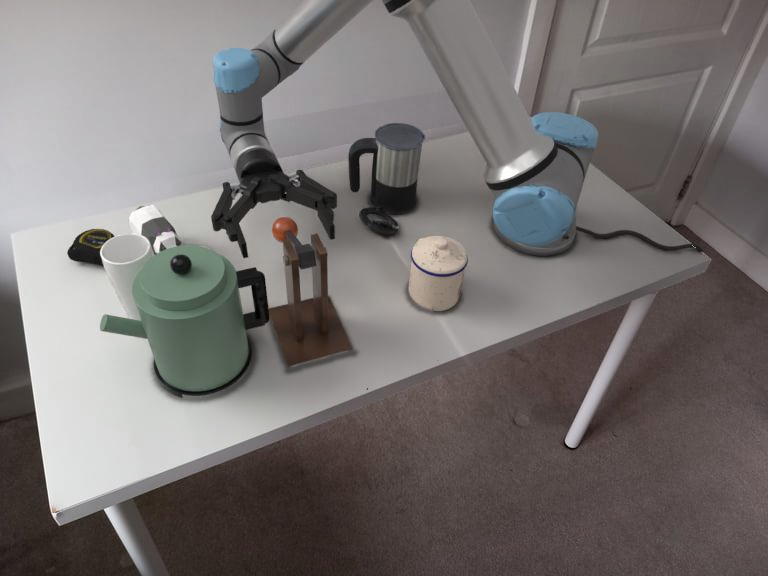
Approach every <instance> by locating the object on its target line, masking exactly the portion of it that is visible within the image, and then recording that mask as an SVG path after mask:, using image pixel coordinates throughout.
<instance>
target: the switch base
mask: <svg viewBox="0 0 768 576" xmlns="http://www.w3.org/2000/svg"><path fill="white" fill-rule="evenodd" d="M320 237H321V236H320V235H319V233H318V232H316V233H311V234H310V245H311V247H312V248H313V249H314V250H315V258H316V265H317V266H315V267H311V273H312V274H311V275H312V277H311V278H312V295H313V296H312V297H311V298H306V299H303V300H302V294H301V280H300V279H301V278H300V267H299V260H298V257H297V255H296V253H295V250H294V248H293V246H292V244H291V241H290V239H287V240H283V243H282V251H283V256H282V262H283V265H284V275H285V276H284V277H285V286H286V288H285V289H286V300H287V303H286V304H282V305H278V306H273V307H270V308H269V316H270V321H271V323H272V327H273V329H274V332H275V335H276V338H277V341H278V343H279V346H280V349H281V352H282V355H283V357H284V359H285V363H286V365H287V367H292V366H296V365H299V364H303V363H307V362H311V361H314V360H318V359H321V358H325V357H328V356H329V357H330V356H333V355H336V354H339V353H343V352H346V351H347V352H348V351H351V350H353V346H352V344H351V342H350V340H349V337H348V336H347V333H346V331H345V329H344V327H343V325H342V323H341V320H340V318H339V316H338V314H337V312H336V309H335V307H334V305H333V303H332V302H331V300H330V297H329V280H328V277H329V276H328V271H329V270H328V254H329V253H328V250H327V247H325V245H324V243H323V242H322V240H321V238H320Z"/></svg>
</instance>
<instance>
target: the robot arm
mask: <svg viewBox="0 0 768 576" xmlns="http://www.w3.org/2000/svg"><path fill="white" fill-rule="evenodd" d="M373 1H374V0H302V1H301V2H300V3H299V4H298V5H297V6H296V7H295V8H294V9H293V10H292V11H291V12H290V13H289V14H288V15H287V16H286V17H285V19H283V21H282V22H280V23H279V24H278V25H277V26H276V27H275V29H274V30H272V32H270V33H269V35H267V36H266V38H264V39H263V40H262V41H261V42H260V43H258V44H257V45H255V46H254V47H253V48H252V49H248V48H244V47H229V48H227V49H222V50H220V51H217V53H216V54H215V55H214V57H213V60H212V65H213V66H212V67H213V83H214V85H215V86H214V87H215V91H216V98H217V104H218V109H219V118H220V119H219V124H218V127H219V132H220V138H221V141H222V143H223V144H224V146H225V148H226V151H227V153H228V156H229V158H230V161H231V163H232V166H233V169H234V172H235V173H236V177H237V179H238V182H239V184H236V185H231V183H230V182H229V181H225V182H223V183H222V192H221V194H220V196H219V198H218V201H217V203H216V205H215V207H214V209H213V211H212V214H211V216H210V219H211V224H212V230H213V231H214V232H220V231H221V230H225V233H226V235H227V238H228V239H229V241H230V242H231V243H235V242H237V244H238V248H239V249H240V252H241V255H242V258H243V259H246V258H249V252H248V245H247V241H246V238H245V236H244V233H243V230H242V227H241V225H240V222H241V221H242V220H243V219H244V218H245V217H246V215H247V214H248V213H249V212H250V210H253V209H255V207H256V206H257V205H258V204H259V203H260V204H265V203H269V202H276V201H277V202H278V201H281V200H282V201H284V202H287V203H291V202H293V203H296V204H298V205H301V206H304V207H306V208H309V209H312V210H314V211H317V217H318V220H319V221H320V223H321V225H322V227H323V229H324V231H325V233H326V235H327V237H328V239H329V240H330V241H332V240H335V239H336V225H335V223H334V222H335V212H334V209H336V208H337V207H338V195H337V193H336V192H335V191H333V190H331V189H329V188H328V187H326V186H324V185H323V184H321V183H320V182H318V181H316V180H314V179H313V178H311V177H309V175H307V174H306V173H305V171H304V170H303V169H297V170H296V171H295V174H293V175H290V176H289V175H287V173H284V170H283V168H282V165H281V164H280V162H279V160H278V158H277V155H276V154H275V151H274V149H273V147H272V146H271V144H270V142H269V140H268V137H267V135H266V131H265V123H264V110H263V98H264V97H265V96H266V95H267V94H269V93H270V92H271V91H273V89H275V88H276V87H277V86H278V85H280V84H281V83H282V82H283V81H285V80H287V78H289V77H291V76H292V75H293V74H294V73H296V72H297V71H298V70H299V69H300V68H301V66H303V64H304V63H305V62H306V61H307V60H309V59H310V58H311V57H312V56H313V55H314V54H316V52H318V50H320V49H321V48H322V47H323V46H324V45H325V44H326V43H328V42H329V41H330V40H331V39H332V38H333V37H334V36H335V35H336V34H338V33H339V32H340V31H341V30H342V29H343V28H344V27H345V26H347V24H349V23H350V22H351V21H352V20H354V19H355V17H357V16H358V15H359V14H360V13H361V12H362V11H363V10H365V9H366V8H367V7H368V6H369V5H370V4H371V3H373ZM381 2H382V3H383V5H384V7H385V9H386V10H387V12H388V14H389V16H392V17H396V18H399V19H402V20H404V21H406V22H407V24H408V26H409V28H410V29H411V31H412V33H413V35H414V36H415V38H416V40H417V41H418V43H419V45H420V48H421V49H422V51H423V52H424V54H425V56H426V58H427V60H428V62H429V64H430V65H431V67H432V69H433V70H434V72H435V74H436V76H437V78H438V79H439V81H440V83H441V85H442V87H443V88H444V90H445V92H446V93H447V96H448V98H449V99H450V101H451V102H452V104H453V106H454V108H455V110H456V112H457V113H458V115H459V117H460V119H461V121H462V122H463V125H464V126H465V128H466V130H467V131H468V133H469V135H470V137H471V138H472V140H473V142H474V144H475V145H476V148H477V149H478V150H479V152H480V154H481V156H482V158H483V160H484V162H485V168H484V171H483V173H482V177H483V180H484V182H485V184H486V185H487V187H488V189H489V191H490V192H491V194H492V196H493V198H494V200H495V201H494V204H493V207H492V219H493V227H494V231H495V233H496V235H497V237H498V238H499V239H500V241H502V242H503V243H505V245H507V246H508V247H510V248H512V249H514V250H516V251H518V252H521V253H524V254H527V255H531V256H540V257H545V256H546V257H547V256H554V255H555V256H556V255H559V254H561V253H563V252H565V251H567V250H568V249H569V248H570V247H571V246H572V244H573V242H574V240H575V236H576V234H577V231H578V232H581V233H584V234H587V235H589V236H592V237H594V238H598V239H608V238H613V237H615V236H620V235H631V236H635V237H637V238H639V239H641V240H642V241H644V242H646V243H648V244H649V245H651V246H653V247H655V248H657V249H660V250H664V251H679V250H680V251H681V250H685V249H695V250H697V249H698V250H697V251H698V252H699V253H703V252H704V250H703V248H702V246H700V245H699V244H696V243H685V244H680V245H673V246H672V245H666V244H665V245H664V244H661V243H658V242H657V241H656V240H655V241H654V240H652V239H651V238H649V237H647V236H646V235H645V234H642V233H640V232H638V231H635V230H629V229H620V230H616V231H613V232H610V233H604V234H603V233H598V232H595V231H592V230H590V229H586V228H584V227H581V226H579V225H577V215H576V210H577V207H578V203H579V200H580V196H581V193H582V189H583V185H584V182H585V179H586V176H587V173H588V170H589V167H590V163H591V161H592V158H593V154H594V152H595V149H597V147H598V144H597V143H598V139H599V131H598V129H597V127H596V126H594V124H592V123H591V122H590V121H587V120H586V119H584V118H582V117H579V116H577V115H573V114H569V113H565V112H560V111H559V112H558V111H546V112H545V111H544V112H539V113H536V114H535V115H533V116H532V117H530V116H529V113H528V112H527V110H526V108H525V106H524V103H523V102H522V100H521V97H520V96H519V94H518V92H517V90H516V88H515V85H514V84H513V82H512V81H511V78H510V76H509V74H508V72H507V70H506V68H505V67H504V64H503V63H502V60H501V58H500V57H499V54H498V53H497V51H496V49H495V47H494V45H493V43H492V41H491V39H490V36H489V35H488V33H487V30H486V29H485V27H484V25H483V23H482V21H481V18H480V17H479V15H478V13H477V11H476V9H475V8H474V5H473V3H472V1H471V0H381ZM239 194H240V195H241V196H240V197H239V199H237V201H236V202H235V203H234V204H233V201H235V200H236V197H237V196H238V195H239ZM692 245H693V246H694V247H696V248H694V247H693V246H692Z"/></svg>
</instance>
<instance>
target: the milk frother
mask: <svg viewBox="0 0 768 576" xmlns="http://www.w3.org/2000/svg"><path fill="white" fill-rule="evenodd" d="M426 138H427V137H426V135H425V133H424V132H423V131H422V130H421V129H420V128H419V127H417V126H415V125H411V124H409V123H404V122H403V123H401V122H391V123H390V122H389V123H386V124H383V125H381V126H379V127H378V128H376V130H375V132H374V137H362V138H359V139H357V140H356V141H354V142H353V143H352V144H351V146H350V147H349V150H348V155H347V157H348V158H347V159H348V178H349V179H348V180H349V189H350V191H351V192H352V193H359V191H360V189H361V169H360V167H361V165H360V158H361V156H363V155H365V154H373V155H372V164H371V182H370V183H371V184H370V202H371V205H372V206H369V207H363V208H361V210H360V211H359V213H358V217H359V219H360V220H361V222H362V223H363V225H365V226H367V227H368V229H370V230H372V231H373V232H375V233H377V234H380V235H382V236H386V237H392V236H395V235H397V234H398V232H399V223H398V222H397V220H396V219H395V218H394V217H392V215H402V214H406V213H409V212H411V211H412V210H414V209H415V207H416V206H417V203H418V201H417V199H418V198H417V190H418V189H417V188H418V181H419V171H420V163H421V158H422V149H423V144H424V142H425V139H426ZM369 215H373V216H378V217H379V218H383V219H384V220H381V219H379V220H375V219H372V220H371V219H370V217H368V216H369ZM390 215H391V216H390Z"/></svg>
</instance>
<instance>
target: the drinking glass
mask: <svg viewBox="0 0 768 576" xmlns="http://www.w3.org/2000/svg"><path fill="white" fill-rule="evenodd" d="M100 255H101V259H102V262H103V265H104V266H103V269H104V272H105V274H106V276H107V278H108V280H109V282H110V284H111V287H112V288H113V290H114V292H115V294H116V296H117V298H118V300H119V302H120V304H121V306H122V308H123V310H124V312H125V314H126V316H127V318H128V319H134V320H139V321H141V319H140V316H139V313H138V310H137V307H136V304H135V301H134V298H133V295H132V286H133V282H134V280H135V278H136V276H137V274H138V273H139V272H140V270H141V269H142V268H143V266H144V265H145V263H146V262H147V261H148V260H149V259H150V258H152V257H153V256H154V252H153V249H152V247H151V244H150V241H149V240H148V239H147V238H146V237H144V236H142V235H139V234H133V233H132V232H129V233H122V234H118V235H116V236H115V235H114V237H113V238H111V239H109V240H108V241H107V242H105V243H104V245H103V246H102V248H101V250H100Z"/></svg>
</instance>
